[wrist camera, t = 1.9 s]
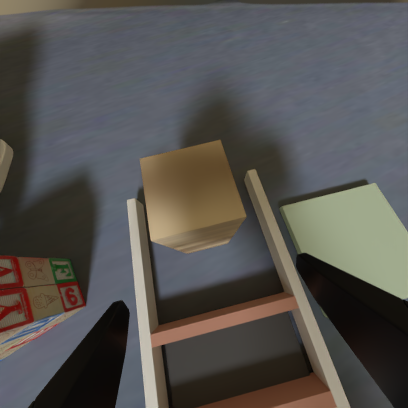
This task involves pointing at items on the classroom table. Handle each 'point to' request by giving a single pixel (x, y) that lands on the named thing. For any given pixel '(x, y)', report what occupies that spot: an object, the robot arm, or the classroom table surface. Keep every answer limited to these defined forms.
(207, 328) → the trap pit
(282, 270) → the channel
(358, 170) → the classroom table surface
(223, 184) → the maple block
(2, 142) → the cream rounded foam block
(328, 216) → the green pad
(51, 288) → the stack of blocks
